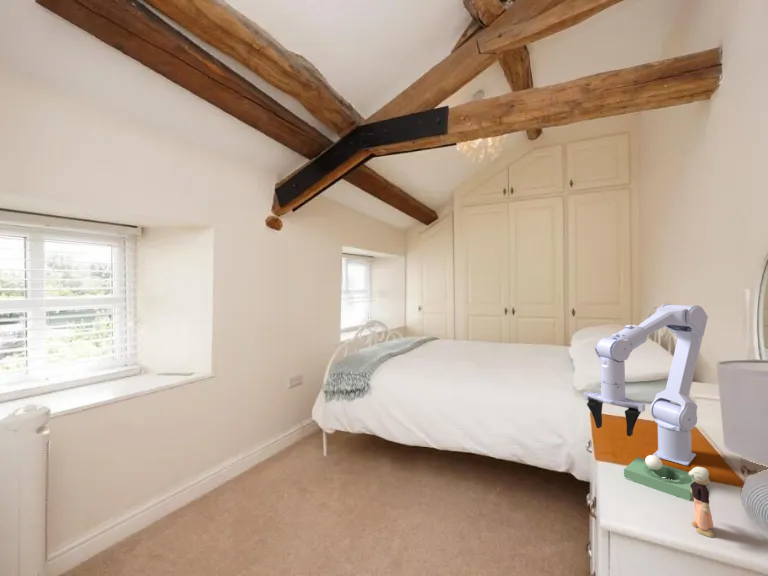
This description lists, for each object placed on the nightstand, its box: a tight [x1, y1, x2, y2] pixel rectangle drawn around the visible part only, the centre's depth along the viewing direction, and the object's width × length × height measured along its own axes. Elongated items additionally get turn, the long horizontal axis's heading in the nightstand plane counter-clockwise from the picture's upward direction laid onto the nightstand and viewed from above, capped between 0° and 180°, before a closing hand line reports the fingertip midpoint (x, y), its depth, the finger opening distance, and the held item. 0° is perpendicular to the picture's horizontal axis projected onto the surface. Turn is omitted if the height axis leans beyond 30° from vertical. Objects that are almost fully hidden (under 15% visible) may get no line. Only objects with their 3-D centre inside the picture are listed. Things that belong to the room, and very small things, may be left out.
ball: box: [644, 454, 663, 470], centre depth 96 cm, size 4×4×4 cm
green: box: [623, 456, 695, 502], centre depth 95 cm, size 10×14×2 cm
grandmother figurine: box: [688, 466, 715, 538], centre depth 77 cm, size 8×4×13 cm, turn 168°
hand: (613, 430), depth 103 cm, fingers open, 7 cm apart
